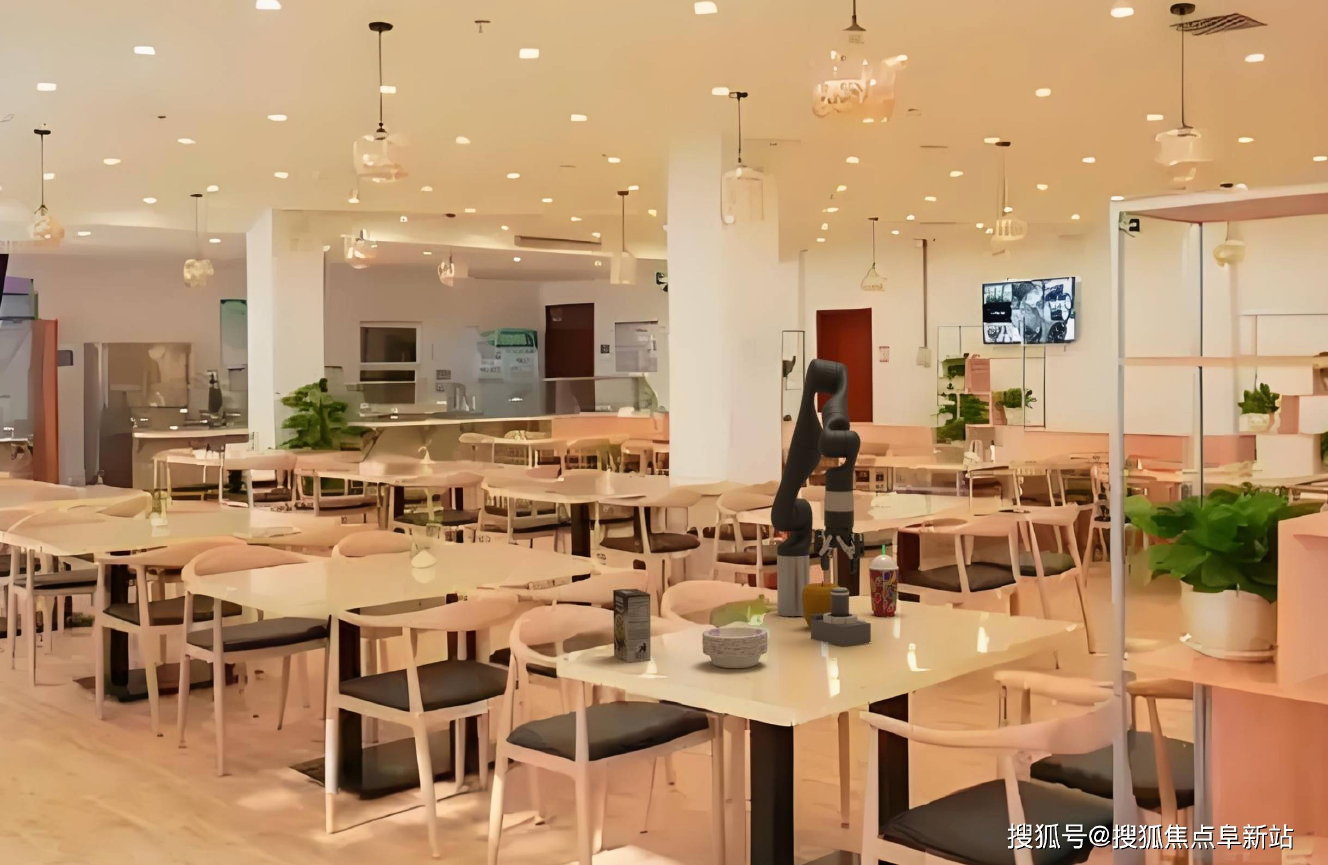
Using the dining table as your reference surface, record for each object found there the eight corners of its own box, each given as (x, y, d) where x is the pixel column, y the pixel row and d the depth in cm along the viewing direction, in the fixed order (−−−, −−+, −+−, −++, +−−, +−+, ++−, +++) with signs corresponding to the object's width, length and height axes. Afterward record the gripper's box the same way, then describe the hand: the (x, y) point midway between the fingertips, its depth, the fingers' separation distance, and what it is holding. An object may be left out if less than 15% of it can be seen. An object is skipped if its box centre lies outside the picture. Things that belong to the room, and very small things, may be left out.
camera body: (810, 638, 327) (810, 613, 327) (838, 634, 332) (838, 609, 332) (842, 646, 316) (842, 620, 316) (870, 642, 321) (870, 617, 320)
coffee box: (612, 655, 308) (612, 589, 307) (637, 653, 310) (636, 587, 310) (626, 662, 299) (625, 594, 299) (651, 660, 302) (651, 593, 302)
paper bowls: (702, 658, 304) (702, 625, 304) (766, 658, 304) (765, 625, 303) (702, 672, 289) (702, 637, 289) (769, 671, 288) (769, 637, 288)
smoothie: (901, 617, 357) (900, 546, 356) (871, 617, 357) (871, 547, 356) (896, 612, 365) (895, 543, 365) (867, 612, 365) (866, 543, 365)
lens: (837, 618, 327) (837, 586, 327) (852, 621, 324) (852, 588, 324) (827, 621, 324) (826, 588, 323) (842, 623, 320) (842, 590, 320)
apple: (823, 634, 333) (822, 585, 333) (793, 628, 341) (792, 581, 341) (850, 628, 340) (850, 581, 340) (820, 623, 349) (820, 577, 348)
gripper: (870, 509, 320) (870, 573, 321) (825, 505, 330) (825, 567, 331) (853, 511, 315) (852, 576, 316) (807, 507, 325) (807, 570, 326)
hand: (838, 571), depth 323 cm, fingers open, 8 cm apart
